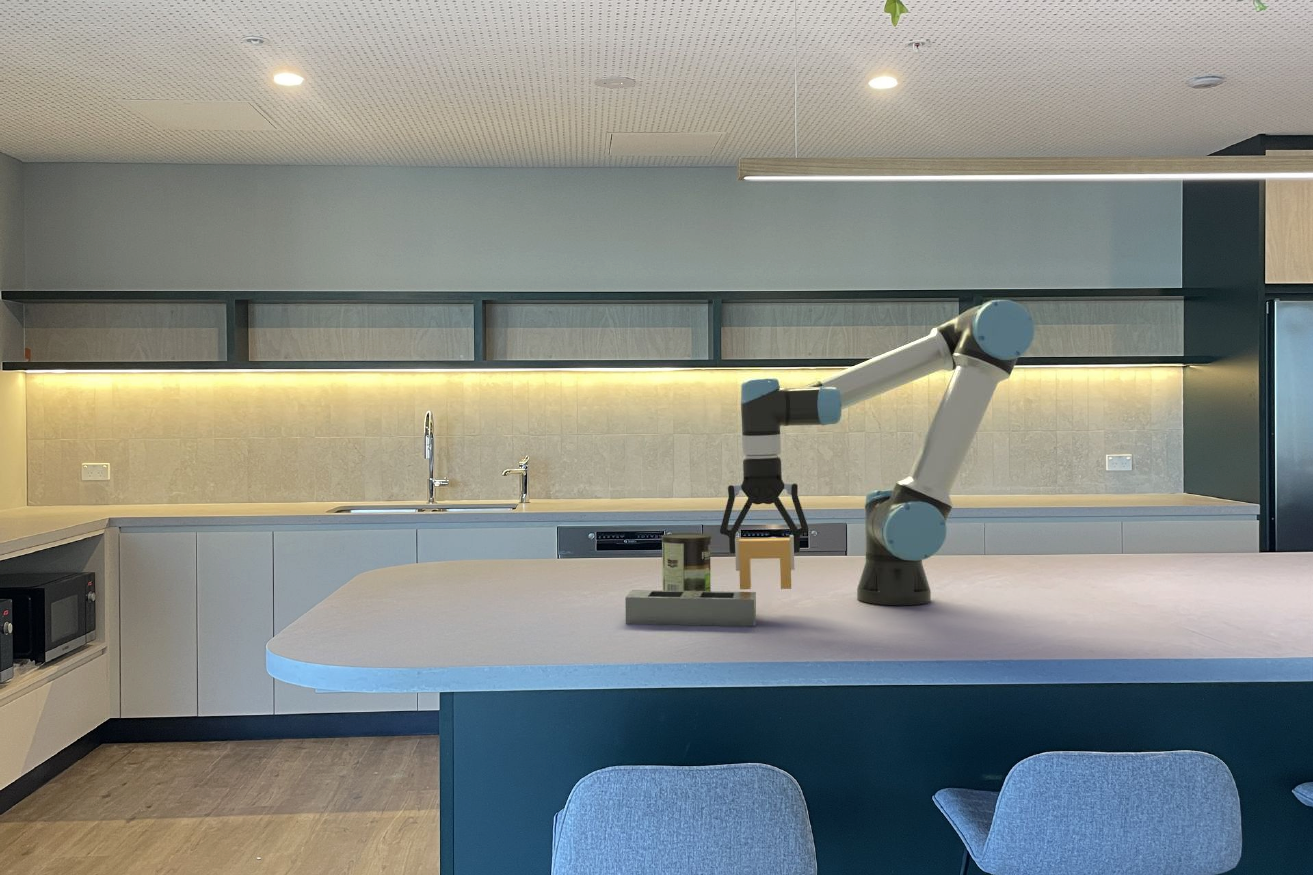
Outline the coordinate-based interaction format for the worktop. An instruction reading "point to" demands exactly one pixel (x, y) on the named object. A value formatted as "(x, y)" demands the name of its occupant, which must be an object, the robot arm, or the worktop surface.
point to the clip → (764, 550)
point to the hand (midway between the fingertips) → (765, 569)
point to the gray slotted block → (691, 608)
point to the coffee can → (686, 562)
